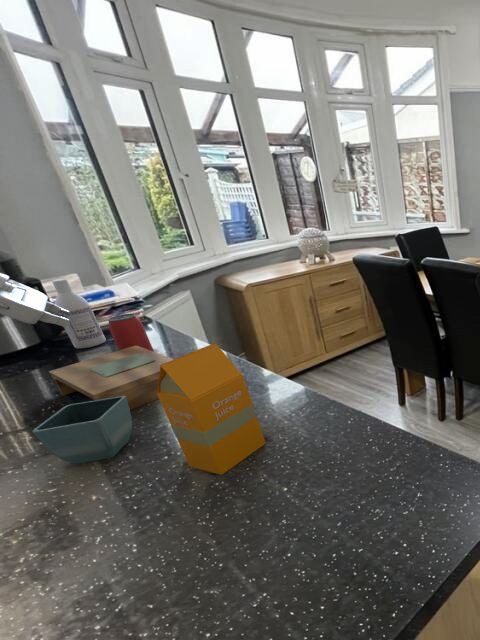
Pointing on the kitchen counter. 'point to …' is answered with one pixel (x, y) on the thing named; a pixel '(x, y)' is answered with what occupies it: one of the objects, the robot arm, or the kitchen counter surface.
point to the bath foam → (78, 317)
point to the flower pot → (87, 430)
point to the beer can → (129, 332)
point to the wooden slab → (114, 376)
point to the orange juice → (209, 409)
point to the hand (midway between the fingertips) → (68, 319)
